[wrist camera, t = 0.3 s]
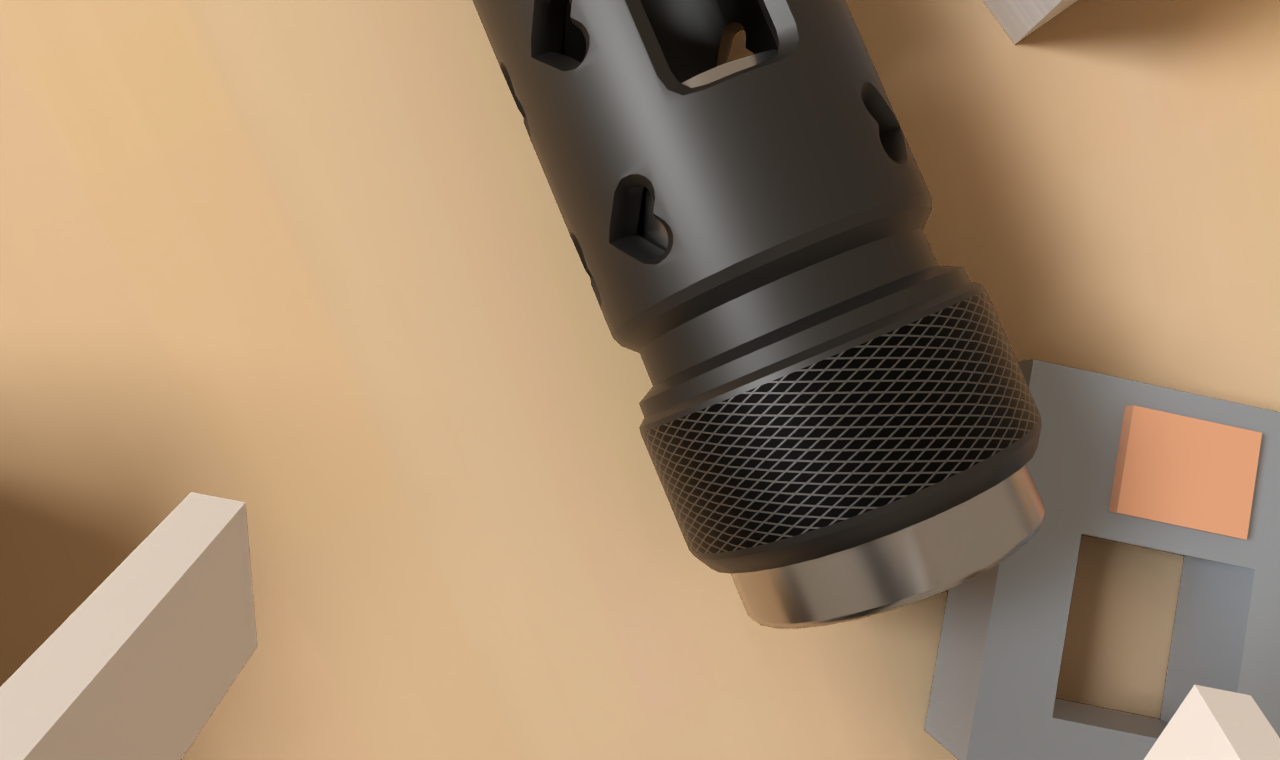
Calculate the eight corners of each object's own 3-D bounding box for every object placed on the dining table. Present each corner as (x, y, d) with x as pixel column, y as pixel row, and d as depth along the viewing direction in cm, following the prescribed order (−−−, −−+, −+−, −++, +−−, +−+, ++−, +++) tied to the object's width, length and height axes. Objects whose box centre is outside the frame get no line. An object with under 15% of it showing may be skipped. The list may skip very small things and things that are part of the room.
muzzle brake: (636, -266, 29) (661, -650, 19) (959, 480, 28) (1173, 503, 18) (377, -176, 29) (256, -525, 18) (697, 595, 27) (761, 689, 17)
